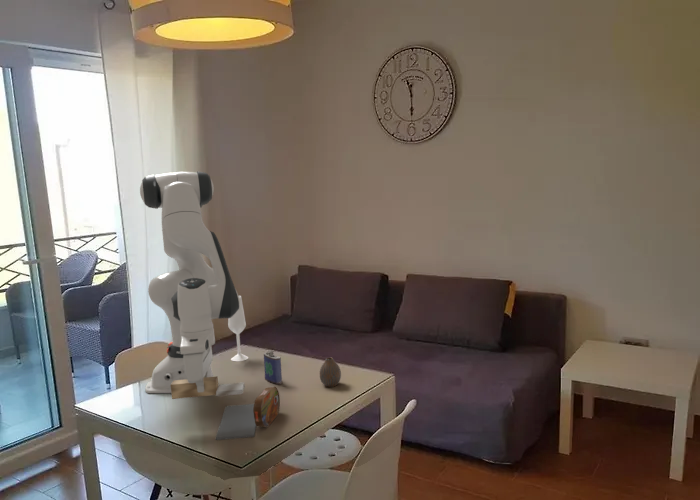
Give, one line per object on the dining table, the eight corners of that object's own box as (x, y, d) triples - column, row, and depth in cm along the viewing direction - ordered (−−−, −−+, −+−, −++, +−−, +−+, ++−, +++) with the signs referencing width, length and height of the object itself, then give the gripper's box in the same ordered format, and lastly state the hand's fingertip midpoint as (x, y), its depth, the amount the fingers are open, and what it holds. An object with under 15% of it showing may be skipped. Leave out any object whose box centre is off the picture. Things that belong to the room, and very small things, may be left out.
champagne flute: (249, 359, 223) (244, 297, 220) (231, 362, 221) (226, 299, 218) (247, 354, 229) (243, 294, 226) (230, 357, 228) (225, 296, 225)
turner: (171, 400, 158) (169, 386, 157) (175, 393, 164) (174, 379, 163) (242, 393, 159) (241, 379, 159) (244, 386, 165) (243, 372, 165)
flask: (283, 383, 195) (281, 352, 194) (276, 385, 193) (273, 353, 192) (269, 376, 202) (267, 346, 201) (262, 379, 200) (260, 348, 199)
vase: (324, 390, 187) (323, 363, 186) (317, 383, 193) (315, 357, 192) (344, 386, 189) (343, 359, 188) (336, 379, 196) (335, 354, 195)
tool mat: (215, 439, 154) (215, 437, 154) (226, 407, 176) (226, 406, 176) (254, 436, 155) (254, 434, 155) (259, 405, 177) (259, 403, 177)
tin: (263, 432, 157) (261, 402, 156) (252, 432, 158) (250, 401, 157) (281, 410, 172) (279, 382, 171) (271, 410, 173) (269, 382, 172)
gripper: (192, 330, 170) (197, 377, 171) (178, 350, 149) (184, 402, 151) (215, 328, 170) (219, 375, 172) (203, 347, 150) (208, 400, 151)
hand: (202, 388), depth 161 cm, fingers closed on turner, 3 cm apart
